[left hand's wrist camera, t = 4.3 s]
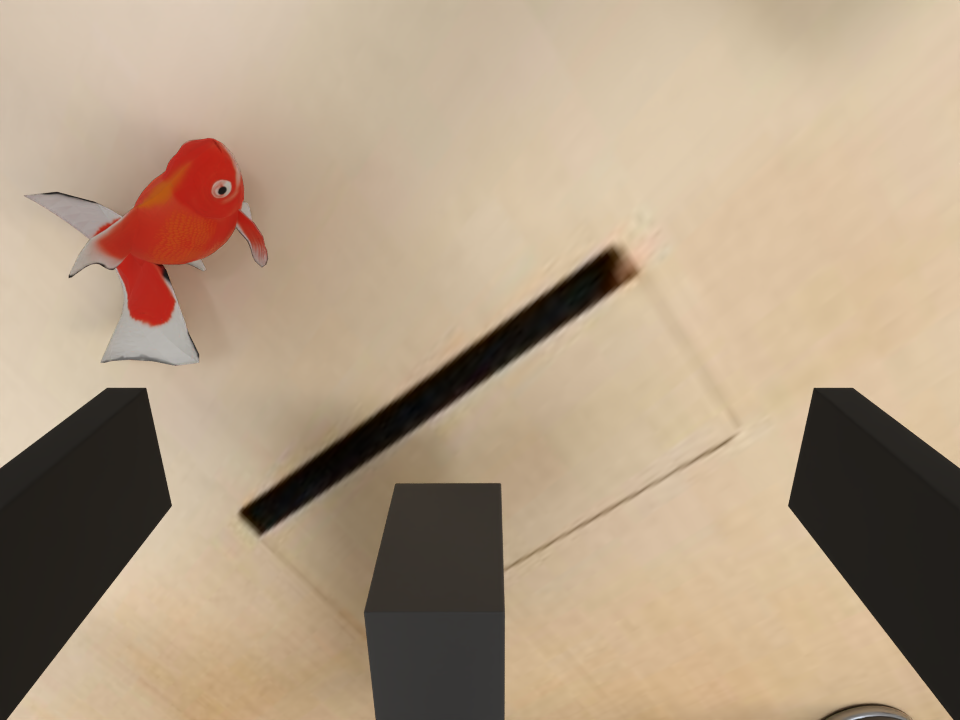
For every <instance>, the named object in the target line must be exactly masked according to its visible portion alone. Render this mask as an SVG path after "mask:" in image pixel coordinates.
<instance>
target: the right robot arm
mask: <svg viewBox="0 0 960 720" xmlns="http://www.w3.org/2000/svg"><path fill="white" fill-rule="evenodd" d="M826 720H912V719H911V718H910V717H909V716H908V715H907V714H905V713H903V712H902V711H899V710H897V709H894V708H890V707H886V706H861V707H855V708H851V709H847V710H844V711H842V712H839V713H837V714H834V715H833V716H831V717H829V718H827V719H826Z"/></svg>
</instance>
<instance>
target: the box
mask: <svg viewBox="0 0 960 720" xmlns="http://www.w3.org/2000/svg"><path fill="white" fill-rule="evenodd" d="M364 617H365V626H366V635H367V644H368V653H369V662H370V671H371V680H372V690H373V699H374V708H375V717H376V720H504V705H505V604H504V569H503V535H502V500H501V484H500V483H430V484H395V488H394V492H393V496H392V500H391V504H390V508H389V512H388V516H387V520H386V525H385V529H384V533H383V537H382V541H381V545H380V549H379V553H378V557H377V561H376V565H375V570H374V574H373V578H372V582H371V586H370V590H369V594H368V598H367V602H366V606H365V610H364Z"/></svg>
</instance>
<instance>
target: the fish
mask: <svg viewBox="0 0 960 720" xmlns="http://www.w3.org/2000/svg"><path fill="white" fill-rule="evenodd" d="M25 197H27V198H29V199H31V200H33V201H35V202H37V203H38V204H40V205H42V206H43V207H45V208H47V209H48V210H50V211H51V212H53V213H54V214H56V215H57V216H59V217H60V218H62V219H63V220H65V221H66V222H68V223H69V224H70V225H72V226H73V227H74V228H76V229H77V230H78V231H80V232H81V233H82V234H84V235H85V236H86V237H87V238H89V239H90V240H89V241H88V242H87V244H86V245H85V247H84V248H83V250H82V251H81V252H80V254H79V256H78V258H77V260H76V262H75V264H74V266H73V268H72V270H71V272H70V274H69V278H71V277H73V276H74V275H75V274H77V273H78V272H79V271H81V270H82V269H83V268H85V267H87V266H89V265H91V264H100V265H102V266H103V267H105V268H107V269H110V270H114V269H115V270H116V272H117V274H118V276H119V278H120V280H121V283H122V286H123V291H124V306H123V311H122V315H121V318H120V320H119V322H118V324H117V326H116V329H115V331H114V333H113V335H112V337H111V340H110V342H109V344H108V347H107V349H106V351H105V353H104V355H103V358H102V360H101V363H105V362H109V361H117V360H143V361H155V362H160V363H165V364H170V365H175V366H177V365H184V364H192V363H199V353H198V351H197V349H196V347H195V345H194V343H193V341H192V339H191V337H190V335H189V333H188V330H187V327H186V323H185V320H184V317H183V315H182V312H181V309H180V306H179V304H178V301H177V298H176V295H175V293H174V290H173V287H172V285H171V282H170V279H169V277H168V274H167V271H166V269H165V268H164V266H163V265H162V264H186V263H187V264H189V265H192V266H194V267H196V268H198V269H200V270H202V271H205V270H206V268H205V266H204V264H203V262H202V260H201V259H202V258H205V257H207V256H209V255H211V254H212V253H214V252H215V251H216V250H218V249H219V248H220V247H221V246H222V245H223V244H224V243H226V241H227V240H228V239H229V238H230V236H231V235H232V233H233V231H234V229H235V227H236V228H237V229H238V231H239V232H240V233H241V234H242V235H243V236H244V238H245V239H246V240H247V241H248V243H249V246H250V249H251V252H252V256H253V258H254V260H255V261H256V262H257V263H258V264H259V265H260V266H261V267H263V266H265V265H266V263H267V260H268V255H267V250H266V247H265V244H264V239H263V236H262V234H261V233H260V231H259V230H258V228H257V227H256V225H255V223H254V222H253V221H252V216H251V211H250V207H249V205H248V203H247V202H243V200H244V185H243V180H242V175H241V172H240V169H239V167H238V164H237V162H236V160H235V158H234V156H233V154H232V153H231V152H230V151H229V149H228V148H226V147H225V146H224V145H223V144H222V143H221V142H219V141H217V140H215V139H212V138H207V139H200V140H190V141H187V142H186V143H184V144H183V145H182V147H181V148H180V150H179V151H178V152H177V154H176V155H175V156H174V157H173V158H172V159H171V160H170V161H169V163H168V165H167V169H166V171H165V172H164V173H163V174H161V175H160V176H158V177H157V178H156V179H154V180H153V181H152V182H151V183H150V184H149V185H148V186H147V187H146V188H145V189H144V191H143V192H142V193H141V195H140V196H139V198H138V200H137V202H136V204H135V206H134V208H133V209H131V210H130V211H129V212H128V213H127V214H125V215H124V216H123V217H122V216H121V215H119V214H117V213H115V212H114V211H112V210H110V209H109V208H106V207H104V206H102V205H100V204H98V203H96V202H93V201H89V200H85V199H82V198H78V197H74V196H70V195H67V194H63V193H59V192H51V193H43V194H34V195H25Z"/></svg>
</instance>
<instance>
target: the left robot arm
mask: <svg viewBox="0 0 960 720" xmlns="http://www.w3.org/2000/svg"><path fill="white" fill-rule="evenodd" d="M171 506H172V504H171V500H170V495H169V490H168V486H167V481H166V477H165V472H164V468H163V463H162V458H161V454H160V449H159V445H158V440H157V435H156V431H155V426H154V422H153V417H152V413H151V408H150V403H149V399H148V394H147V390H146V388H106V389H105V390H104V391H102V392H101V393H100V394H98V395H97V396H96V397H94V398H93V399H92V400H90V401H89V402H88V403H86V404H85V405H84V406H83V407H81V408H80V409H79V410H77V411H76V412H75V413H73V414H72V415H71V416H69V417H68V418H67V419H65V420H64V421H63V422H61V423H60V424H59V425H57V426H56V427H55V428H53V429H52V430H51V431H49V432H48V433H47V434H45V435H44V436H43V437H41V438H40V439H39V440H37V441H36V442H35V443H33V444H32V445H31V446H29V447H28V448H27V449H25V450H24V451H23V452H21V453H20V454H19V455H17V456H16V457H15V458H13V459H12V460H11V461H9V462H8V463H7V464H5V465H4V466H3V467H1V468H0V720H7V718H8V717H9V716H10V715H11V713H12V712H13V711H14V709H15V708H16V707H17V705H18V704H19V703H20V702H21V700H22V699H23V698H24V696H25V695H26V694H27V693H28V691H29V690H30V689H31V687H32V686H33V685H34V684H35V682H36V681H37V680H38V678H39V677H40V676H41V674H42V673H43V672H44V671H45V669H46V668H47V667H48V665H49V664H50V663H51V662H52V660H53V659H54V658H55V656H56V655H57V654H58V652H59V651H60V650H61V649H62V647H63V646H64V645H65V643H66V642H67V641H68V640H69V638H70V637H71V636H72V634H73V633H74V632H75V630H76V629H77V628H78V627H79V625H80V624H81V623H82V621H83V620H84V619H85V618H86V616H87V615H88V614H89V612H90V611H91V610H92V608H93V607H94V606H95V605H96V603H97V602H98V601H99V599H100V598H101V597H102V596H103V594H104V593H105V592H106V590H107V589H108V588H109V587H110V585H111V584H112V583H113V581H114V580H115V579H116V577H117V576H118V575H119V574H120V572H121V571H122V570H123V568H124V567H125V566H126V565H127V563H128V562H129V561H130V559H131V558H132V557H133V555H134V554H135V553H136V552H137V550H138V549H139V548H140V546H141V545H142V544H143V543H144V541H145V540H146V539H147V537H148V536H149V535H150V533H151V532H152V531H153V530H154V528H155V527H156V526H157V524H158V523H159V522H160V521H161V519H162V518H163V517H164V515H165V514H166V513H167V512H168V510H169V509H170V508H171ZM788 506H789V508H790V509H791V510H792V512H793V513H794V514H795V515H796V517H797V518H798V519H799V521H800V522H801V523H802V524H803V526H804V527H805V528H806V530H807V531H808V532H809V533H810V535H811V536H812V537H813V539H814V540H815V541H816V543H817V544H818V545H819V546H820V548H821V549H822V550H823V552H824V553H825V554H826V555H827V557H828V558H829V559H830V561H831V562H832V563H833V565H834V566H835V567H836V568H837V570H838V571H839V572H840V574H841V575H842V576H843V577H844V579H845V580H846V581H847V583H848V584H849V585H850V587H851V588H852V589H853V590H854V592H855V593H856V594H857V596H858V597H859V598H860V599H861V601H862V602H863V603H864V605H865V606H866V607H867V608H868V610H869V611H870V612H871V614H872V615H873V616H874V618H875V619H876V620H877V621H878V623H879V624H880V625H881V627H882V628H883V629H884V630H885V632H886V633H887V634H888V636H889V637H890V638H891V640H892V641H893V642H894V643H895V645H896V646H897V647H898V649H899V650H900V651H901V652H902V654H903V655H904V656H905V658H906V659H907V660H908V662H909V663H910V664H911V665H912V667H913V668H914V669H915V671H916V672H917V673H918V674H919V676H920V677H921V678H922V680H923V681H924V682H925V684H926V685H927V686H928V687H929V689H930V690H931V691H932V693H933V694H934V695H935V696H936V698H937V699H938V700H939V702H940V703H941V704H942V705H943V707H944V708H945V709H946V711H947V712H948V713H949V715H950V716H951V717H952V718H953V720H960V468H959V467H957V466H956V465H955V464H953V463H952V462H951V461H949V460H948V459H947V458H945V457H944V456H943V455H941V454H940V453H939V452H937V451H936V450H935V449H933V448H932V447H931V446H929V445H928V444H927V443H925V442H924V441H923V440H921V439H920V438H919V437H917V436H916V435H915V434H913V433H912V432H911V431H909V430H908V429H907V428H905V427H904V426H903V425H901V424H900V423H899V422H897V421H896V420H895V419H893V418H892V417H891V416H889V415H888V414H887V413H885V412H884V411H883V410H881V409H880V408H879V407H877V406H876V405H875V404H874V403H872V402H871V401H870V400H868V399H867V398H866V397H864V396H863V395H862V394H860V393H859V392H858V391H856V390H855V389H854V388H814V390H813V394H812V399H811V403H810V408H809V413H808V417H807V422H806V426H805V431H804V435H803V440H802V445H801V449H800V454H799V458H798V463H797V468H796V472H795V477H794V481H793V486H792V490H791V495H790V500H789V504H788Z"/></svg>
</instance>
